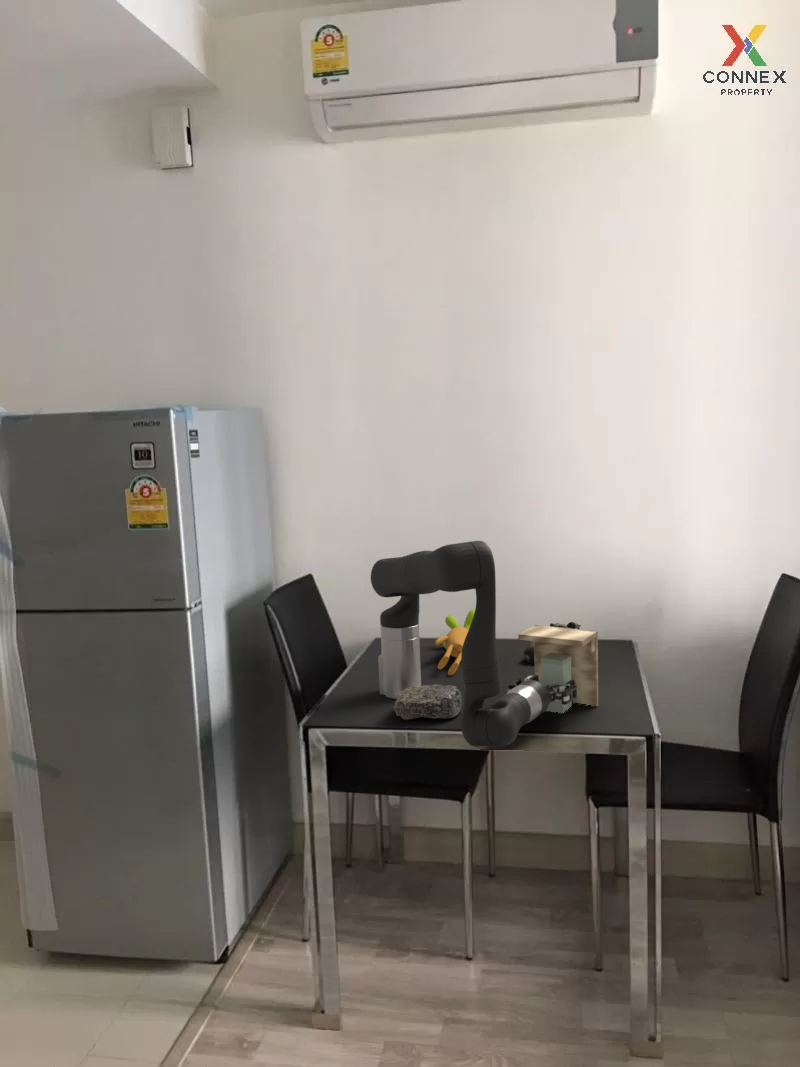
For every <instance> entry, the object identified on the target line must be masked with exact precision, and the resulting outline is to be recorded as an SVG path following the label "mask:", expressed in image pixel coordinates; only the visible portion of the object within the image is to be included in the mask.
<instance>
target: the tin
mask: <svg viewBox="0 0 800 1067" xmlns="http://www.w3.org/2000/svg"><path fill="white" fill-rule="evenodd" d="M571 660H572V655H565V654H556V653H549V654H547V655H545V656H544V657H542V658H541V667H542V684H547V685H549V684H555V683H558V684H560V685H563V684H566V683H567V682H568V681H570V680H571ZM553 689H554V690H555V692H556V688H553ZM562 691H565V688H563V689H562ZM572 705H573V703H572V701H571V702H570V703H568V704H566V705H563V704H562V701H561V700H557V701H554V702H550V704H549V706H548V707H547V709H546V710H545V711H544V712H549V711H550V713H556V712H558V713H557V714H562V713H564V712H565V711H566V710H567V711H569V710H570V709H571V708H572V707H571V706H572ZM570 707H571V708H570ZM569 708H570V709H569ZM568 709H569V710H568ZM567 711H566V712H567ZM566 712H565V713H566ZM565 713H564V714H565Z"/></svg>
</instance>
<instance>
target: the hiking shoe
mask: <svg viewBox="0 0 800 1067" xmlns="http://www.w3.org/2000/svg"><path fill="white" fill-rule="evenodd" d="M549 626H550V627H561V628H571V629H581V628H580V627H581V624H579V623H577V622H573V621H571V622H568V623H567V624H564V623H560V622H555V623H553V622H551V623H549ZM523 658H524V659H525V660H526V662H527V663H529V662H530V663H529V664H533V663H534V647H533V646H531V645H530V646H527V647H525V649H524V651H523Z"/></svg>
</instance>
